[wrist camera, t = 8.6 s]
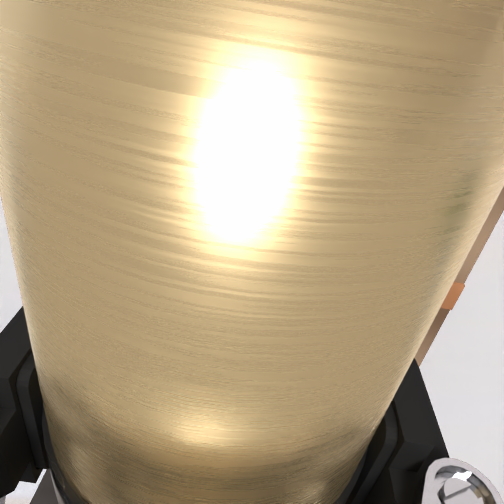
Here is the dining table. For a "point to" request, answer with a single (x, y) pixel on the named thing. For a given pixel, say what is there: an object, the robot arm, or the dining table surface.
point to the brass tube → (238, 228)
